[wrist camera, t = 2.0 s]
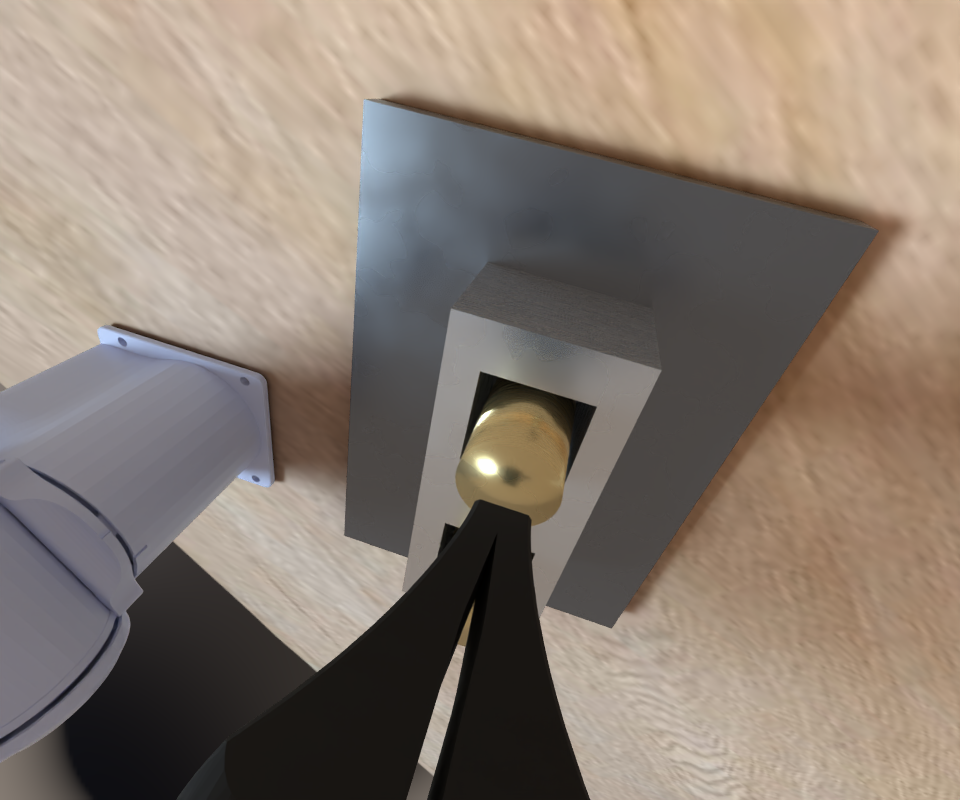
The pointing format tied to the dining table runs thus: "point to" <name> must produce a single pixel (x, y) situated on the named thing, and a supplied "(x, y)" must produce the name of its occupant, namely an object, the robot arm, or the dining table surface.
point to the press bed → (588, 265)
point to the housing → (546, 366)
